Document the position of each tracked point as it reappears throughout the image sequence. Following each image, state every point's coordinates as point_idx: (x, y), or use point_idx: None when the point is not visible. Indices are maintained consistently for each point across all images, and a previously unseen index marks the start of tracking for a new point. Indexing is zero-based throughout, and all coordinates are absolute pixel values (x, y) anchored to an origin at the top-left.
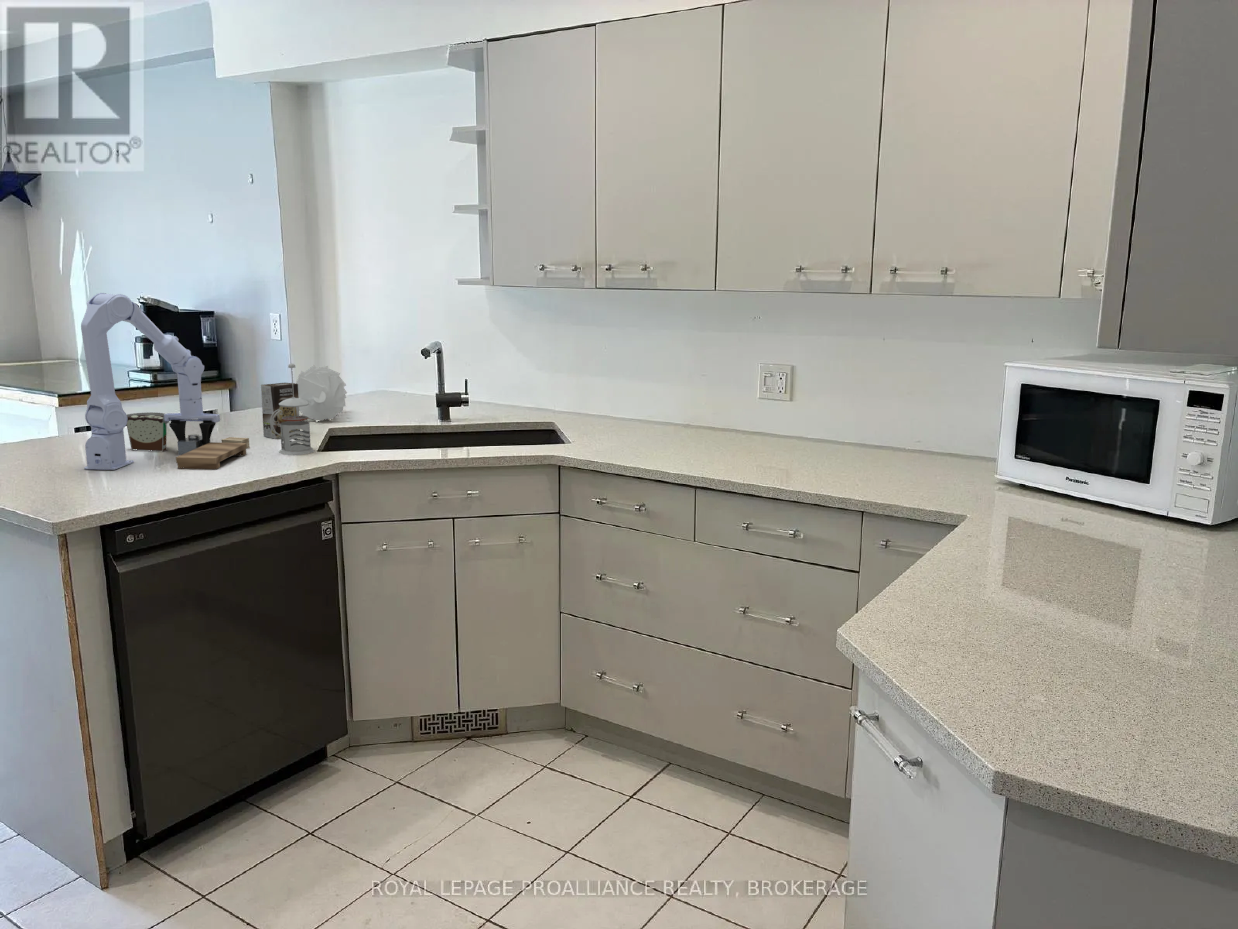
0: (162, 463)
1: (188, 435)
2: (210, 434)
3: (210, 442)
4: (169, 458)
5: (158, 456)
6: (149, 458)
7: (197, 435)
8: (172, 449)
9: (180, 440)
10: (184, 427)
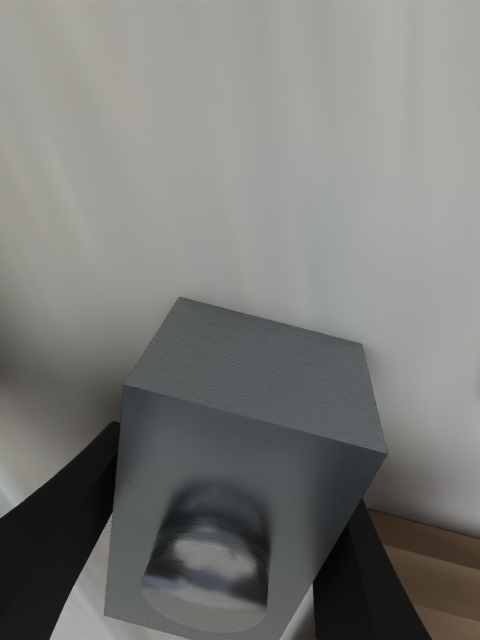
0: (142, 636)
1: (149, 600)
2: (412, 629)
3: None
4: None
5: None
6: None
7: (253, 622)
8: (3, 310)
9: (110, 589)
10: (7, 626)
